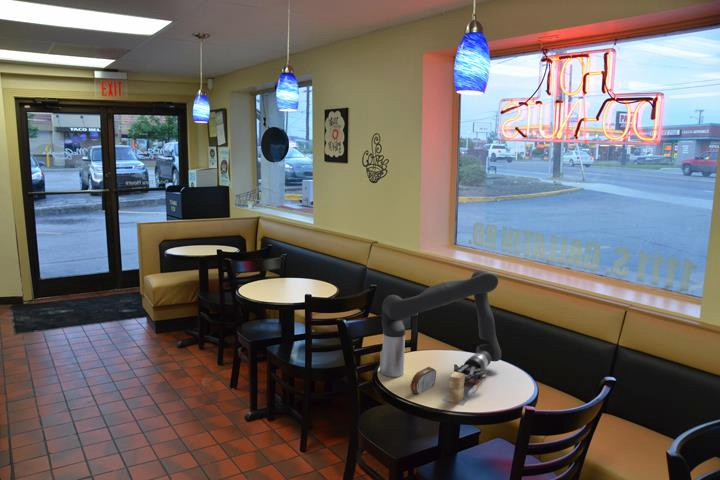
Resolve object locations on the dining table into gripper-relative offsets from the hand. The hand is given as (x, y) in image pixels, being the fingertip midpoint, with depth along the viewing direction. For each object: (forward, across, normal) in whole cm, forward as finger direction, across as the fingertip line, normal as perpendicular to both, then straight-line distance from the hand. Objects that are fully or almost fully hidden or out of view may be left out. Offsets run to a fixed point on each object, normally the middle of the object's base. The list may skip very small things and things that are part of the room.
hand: (461, 379), depth 210 cm
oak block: (+5, 0, +6) cm, 8 cm away
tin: (+3, -14, +7) cm, 16 cm away
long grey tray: (-3, 0, +7) cm, 8 cm away
